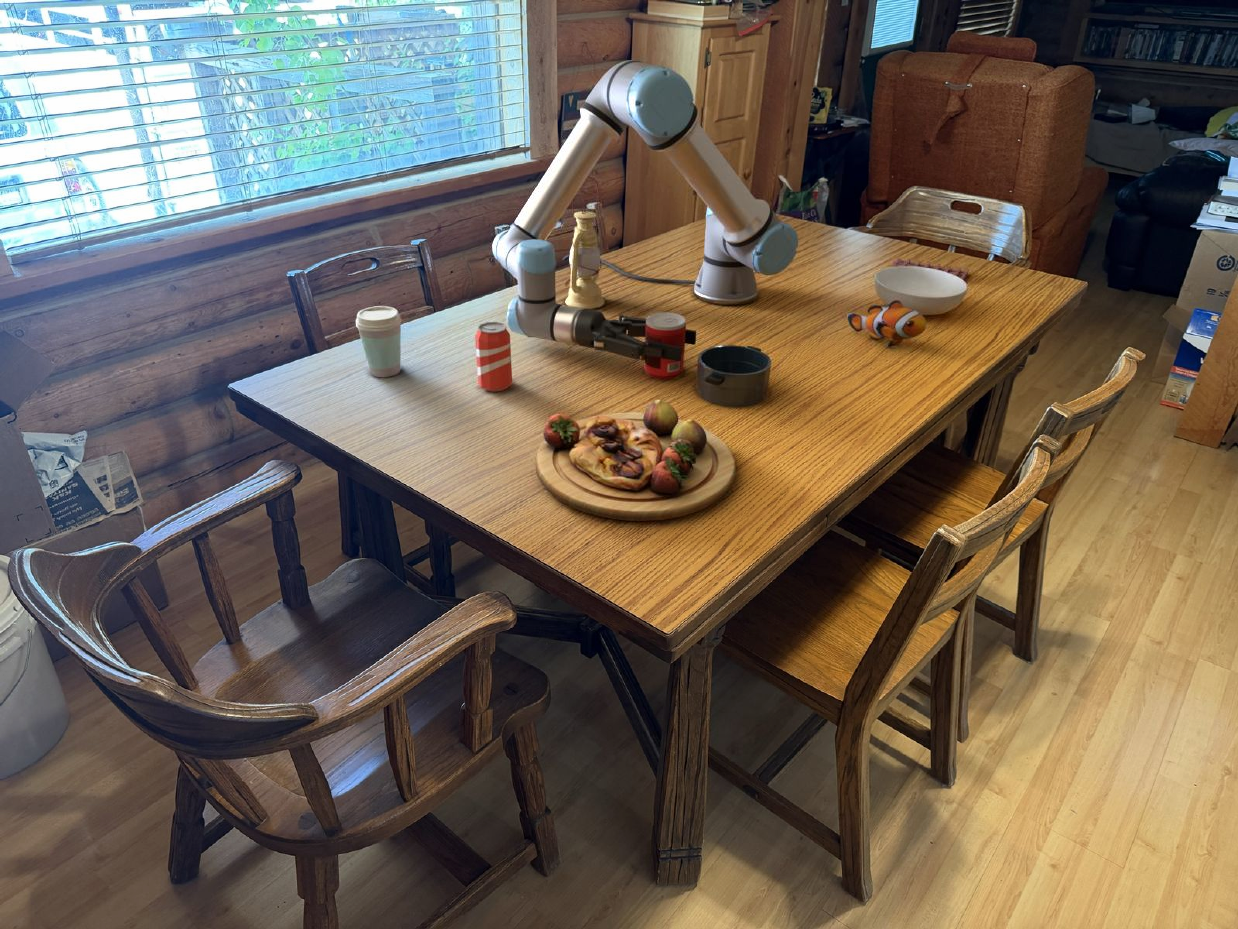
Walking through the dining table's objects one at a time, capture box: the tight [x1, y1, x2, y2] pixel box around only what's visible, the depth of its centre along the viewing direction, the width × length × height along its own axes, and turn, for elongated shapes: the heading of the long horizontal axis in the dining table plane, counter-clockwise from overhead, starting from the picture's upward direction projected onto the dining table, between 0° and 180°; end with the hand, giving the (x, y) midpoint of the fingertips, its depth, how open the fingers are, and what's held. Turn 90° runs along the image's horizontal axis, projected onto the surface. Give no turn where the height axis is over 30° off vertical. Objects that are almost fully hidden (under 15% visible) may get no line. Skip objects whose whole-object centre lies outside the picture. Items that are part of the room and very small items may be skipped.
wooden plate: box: [535, 399, 737, 522], centre depth 139 cm, size 32×32×8 cm
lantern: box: [564, 175, 606, 310], centre depth 198 cm, size 12×10×30 cm
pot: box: [695, 344, 773, 408], centre depth 165 cm, size 14×14×6 cm
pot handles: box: [705, 345, 762, 386], centre depth 164 cm, size 3×18×1 cm, turn 147°
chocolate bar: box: [890, 257, 970, 281], centre depth 229 cm, size 7×19×2 cm, turn 61°
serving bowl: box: [873, 266, 969, 316], centre depth 205 cm, size 21×21×7 cm
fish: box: [846, 300, 927, 349], centre depth 186 cm, size 10×18×10 cm, turn 44°
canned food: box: [643, 311, 687, 380], centre depth 171 cm, size 8×8×11 cm
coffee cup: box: [355, 305, 403, 378], centre depth 168 cm, size 8×8×12 cm
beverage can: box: [474, 321, 513, 393], centre depth 163 cm, size 6×6×12 cm
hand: (688, 345), depth 169 cm, fingers closed on canned food, 8 cm apart
